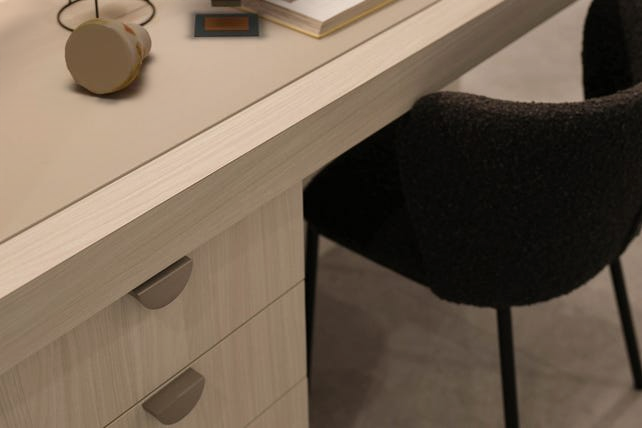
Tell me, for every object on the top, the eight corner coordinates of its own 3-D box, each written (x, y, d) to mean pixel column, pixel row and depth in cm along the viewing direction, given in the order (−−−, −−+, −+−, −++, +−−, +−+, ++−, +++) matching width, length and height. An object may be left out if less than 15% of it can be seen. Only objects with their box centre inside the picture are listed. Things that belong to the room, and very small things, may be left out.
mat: (194, 39, 94) (194, 34, 93) (195, 17, 98) (195, 13, 98) (259, 38, 94) (258, 34, 94) (257, 16, 99) (257, 12, 98)
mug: (172, 55, 91) (166, -2, 82) (128, 129, 87) (116, 78, 78) (108, 28, 91) (95, -32, 82) (62, 100, 88) (42, 46, 79)
